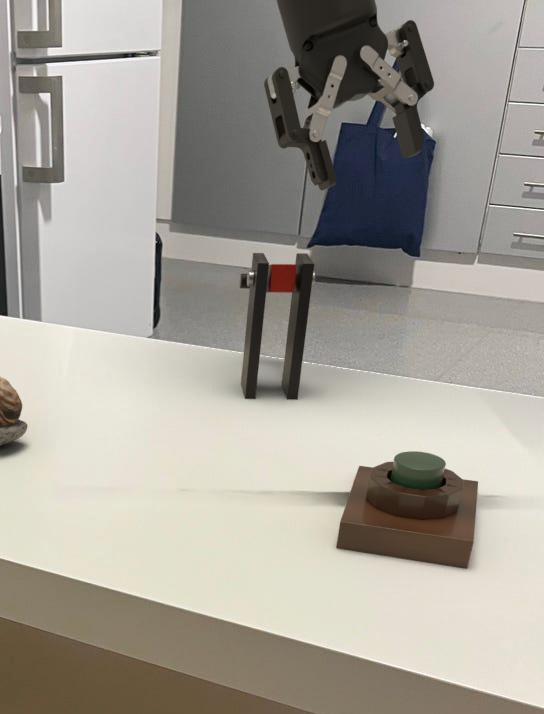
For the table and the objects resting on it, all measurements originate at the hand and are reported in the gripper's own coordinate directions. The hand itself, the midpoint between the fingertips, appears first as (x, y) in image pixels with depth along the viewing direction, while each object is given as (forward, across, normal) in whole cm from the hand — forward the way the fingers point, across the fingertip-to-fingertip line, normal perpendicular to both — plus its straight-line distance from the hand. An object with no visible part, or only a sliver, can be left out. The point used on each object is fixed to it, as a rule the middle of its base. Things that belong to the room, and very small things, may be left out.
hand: (371, 171), depth 90 cm
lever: (+7, -9, +8) cm, 13 cm away
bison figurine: (+9, -42, +4) cm, 44 cm away
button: (+23, -15, -21) cm, 34 cm away
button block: (+26, -16, -19) cm, 36 cm away
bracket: (+17, -13, +7) cm, 22 cm away
